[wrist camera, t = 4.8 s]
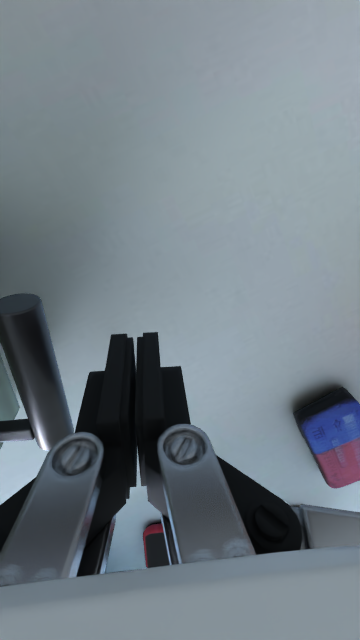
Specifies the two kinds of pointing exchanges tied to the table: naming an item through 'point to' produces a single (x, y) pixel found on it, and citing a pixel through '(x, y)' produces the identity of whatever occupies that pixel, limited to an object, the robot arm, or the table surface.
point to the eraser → (333, 436)
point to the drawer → (30, 375)
